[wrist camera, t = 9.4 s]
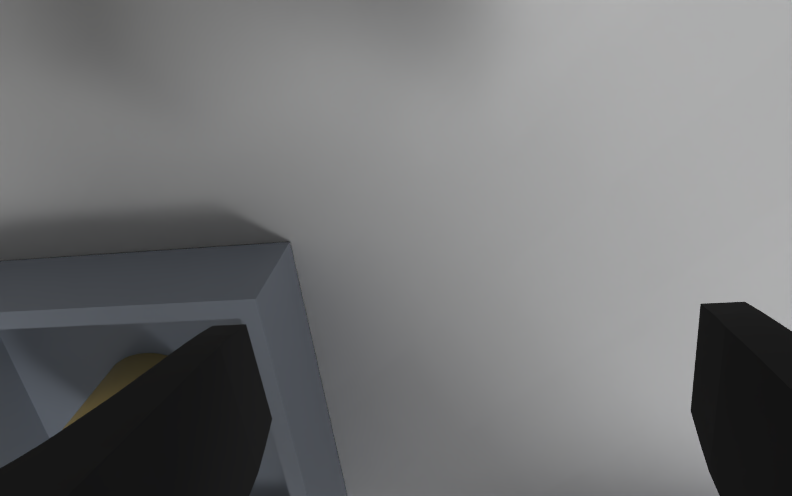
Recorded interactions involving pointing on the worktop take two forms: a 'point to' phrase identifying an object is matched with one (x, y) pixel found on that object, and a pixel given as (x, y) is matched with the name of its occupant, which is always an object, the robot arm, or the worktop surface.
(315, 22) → the worktop surface
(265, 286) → the bin
